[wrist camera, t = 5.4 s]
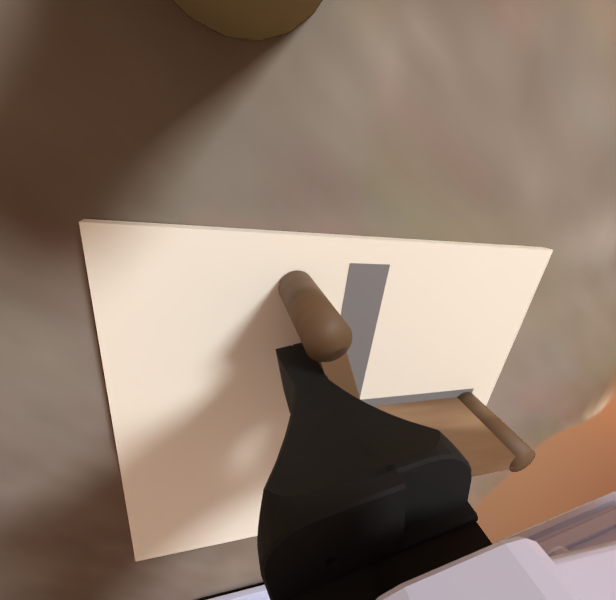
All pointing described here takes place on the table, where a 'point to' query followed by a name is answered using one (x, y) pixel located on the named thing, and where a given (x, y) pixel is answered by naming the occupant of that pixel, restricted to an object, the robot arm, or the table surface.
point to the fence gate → (319, 328)
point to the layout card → (273, 350)
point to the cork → (250, 16)
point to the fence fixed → (469, 431)
